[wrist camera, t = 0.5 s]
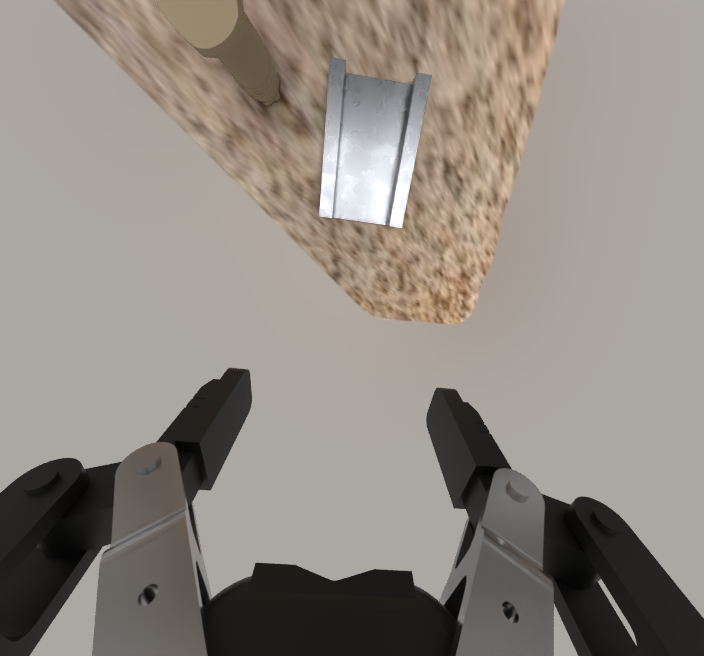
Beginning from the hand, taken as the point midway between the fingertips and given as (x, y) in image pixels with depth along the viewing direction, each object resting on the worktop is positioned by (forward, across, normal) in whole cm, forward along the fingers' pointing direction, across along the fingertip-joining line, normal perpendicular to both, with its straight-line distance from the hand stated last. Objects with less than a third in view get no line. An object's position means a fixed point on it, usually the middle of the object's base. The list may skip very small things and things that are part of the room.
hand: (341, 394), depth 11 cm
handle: (+28, +11, -18) cm, 35 cm away
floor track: (+28, -1, -12) cm, 31 cm away
